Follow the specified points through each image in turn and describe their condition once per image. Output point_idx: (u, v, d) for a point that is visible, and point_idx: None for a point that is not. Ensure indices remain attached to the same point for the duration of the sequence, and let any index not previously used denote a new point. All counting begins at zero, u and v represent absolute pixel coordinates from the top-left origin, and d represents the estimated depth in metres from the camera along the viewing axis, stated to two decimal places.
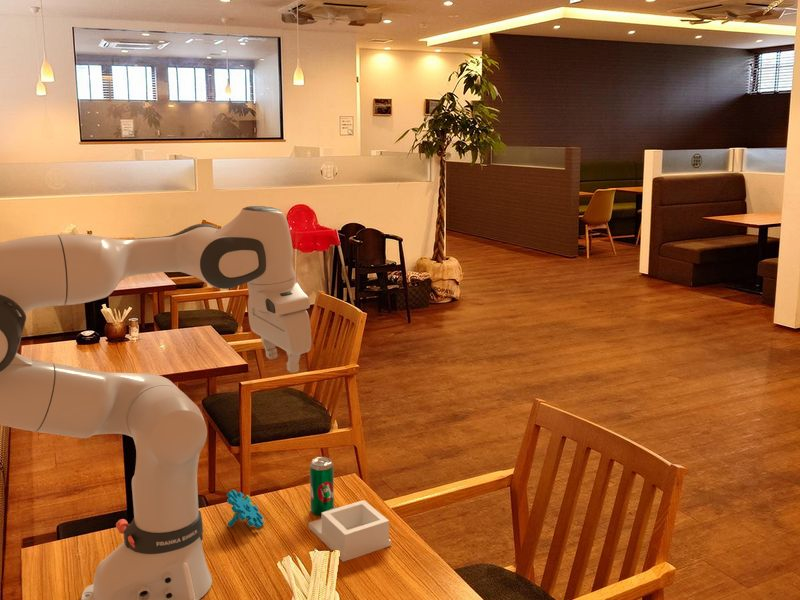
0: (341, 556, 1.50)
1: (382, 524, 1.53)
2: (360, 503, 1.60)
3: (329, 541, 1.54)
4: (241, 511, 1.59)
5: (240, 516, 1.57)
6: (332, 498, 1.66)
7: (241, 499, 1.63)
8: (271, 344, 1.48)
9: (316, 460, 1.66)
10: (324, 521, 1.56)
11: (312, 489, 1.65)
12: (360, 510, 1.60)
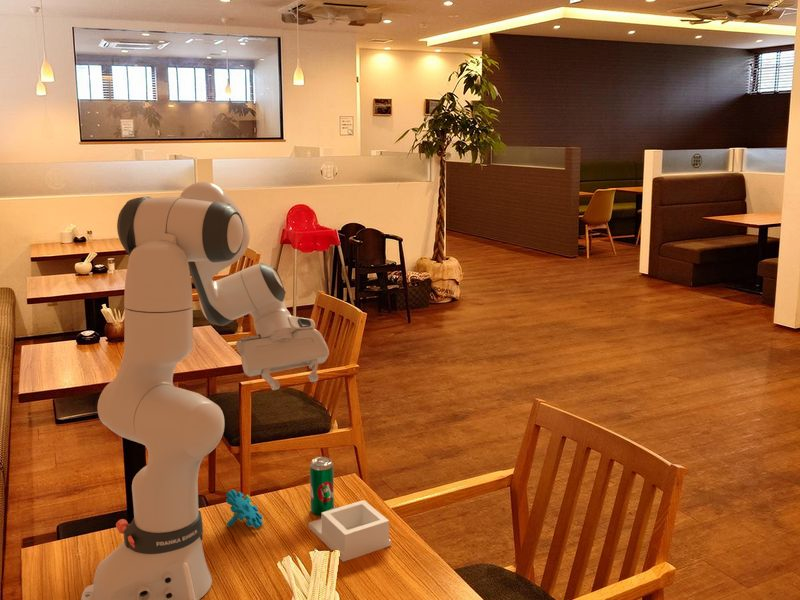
0: (341, 556, 1.50)
1: (382, 524, 1.53)
2: (360, 503, 1.60)
3: (329, 541, 1.54)
4: (240, 511, 1.59)
5: (239, 516, 1.57)
6: (332, 498, 1.66)
7: (240, 499, 1.63)
8: None
9: (316, 460, 1.66)
10: (324, 521, 1.56)
11: (312, 489, 1.65)
12: (360, 510, 1.60)
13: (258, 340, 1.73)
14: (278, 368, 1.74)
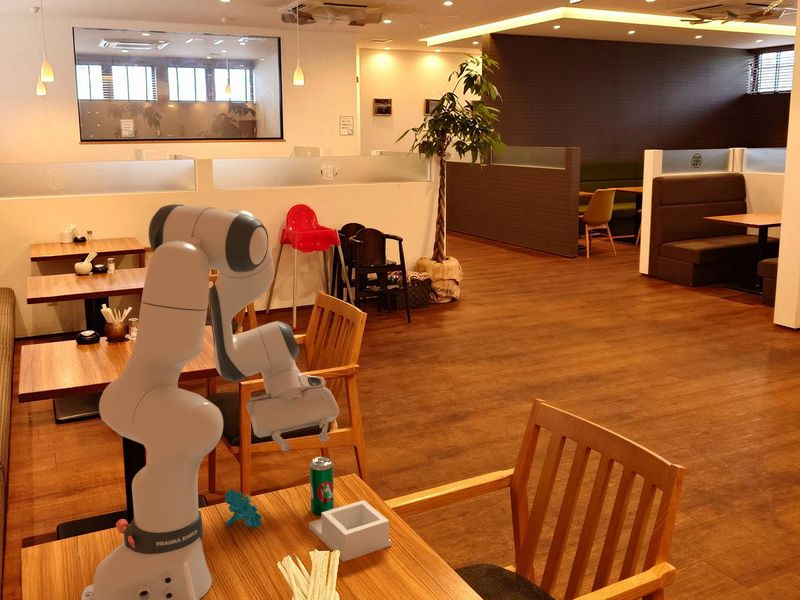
0: (341, 556, 1.50)
1: (382, 524, 1.53)
2: (360, 503, 1.60)
3: (329, 541, 1.54)
4: (238, 511, 1.59)
5: (237, 516, 1.57)
6: (332, 498, 1.66)
7: (240, 499, 1.63)
8: None
9: (316, 460, 1.66)
10: (324, 521, 1.56)
11: (312, 489, 1.65)
12: (360, 510, 1.60)
13: (268, 400, 1.71)
14: (288, 428, 1.73)
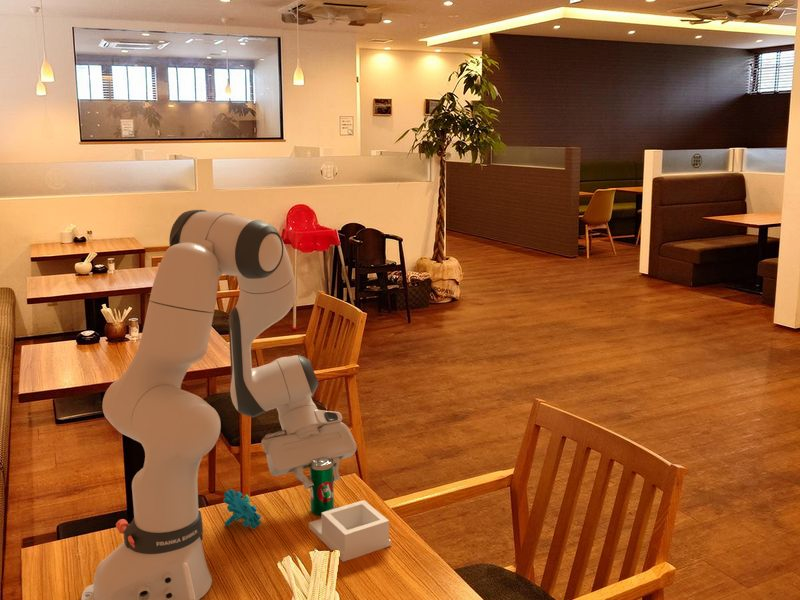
0: (341, 556, 1.50)
1: (382, 524, 1.53)
2: (360, 503, 1.60)
3: (329, 541, 1.54)
4: (237, 511, 1.59)
5: (235, 516, 1.57)
6: (332, 498, 1.66)
7: (239, 499, 1.63)
8: None
9: (316, 460, 1.66)
10: (324, 521, 1.56)
11: (312, 489, 1.65)
12: (360, 510, 1.60)
13: (284, 437, 1.66)
14: (304, 466, 1.68)
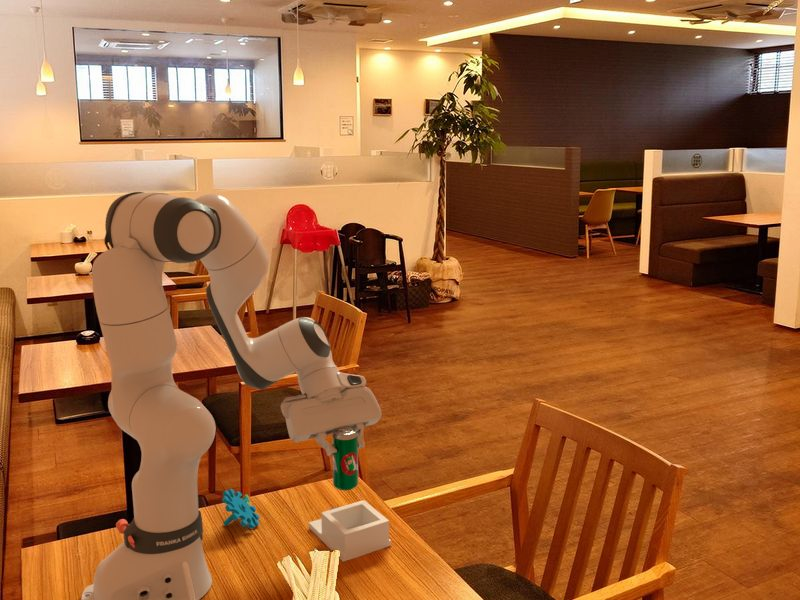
0: (341, 556, 1.50)
1: (382, 524, 1.53)
2: (360, 503, 1.60)
3: (329, 541, 1.54)
4: (235, 511, 1.59)
5: (233, 516, 1.57)
6: (356, 471, 1.55)
7: (238, 499, 1.63)
8: None
9: (339, 430, 1.54)
10: (324, 521, 1.56)
11: (335, 461, 1.53)
12: (360, 510, 1.60)
13: (305, 401, 1.54)
14: (326, 432, 1.56)
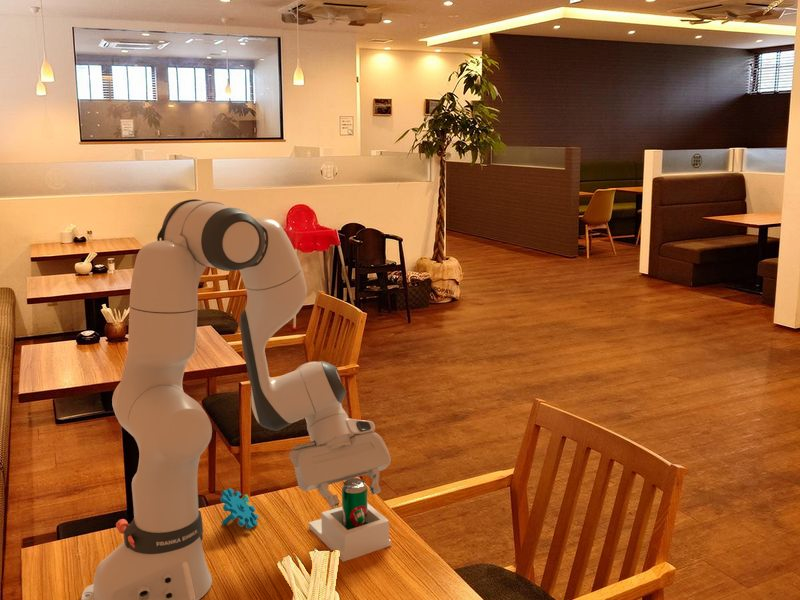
0: (341, 556, 1.50)
1: (382, 524, 1.53)
2: None
3: (329, 541, 1.54)
4: (233, 510, 1.59)
5: (230, 515, 1.57)
6: (366, 523, 1.54)
7: (236, 498, 1.63)
8: None
9: (348, 482, 1.54)
10: (324, 521, 1.56)
11: (344, 513, 1.53)
12: None
13: (314, 449, 1.54)
14: (336, 479, 1.55)
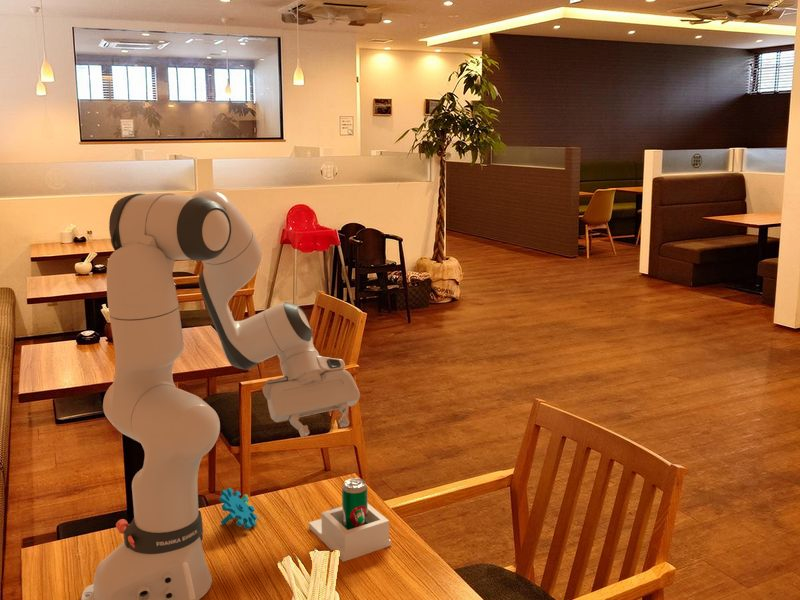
0: (341, 556, 1.50)
1: (382, 524, 1.53)
2: None
3: (329, 541, 1.54)
4: (231, 510, 1.59)
5: (229, 515, 1.57)
6: (366, 523, 1.54)
7: (236, 498, 1.63)
8: None
9: (349, 482, 1.54)
10: (324, 521, 1.56)
11: (344, 513, 1.53)
12: None
13: (286, 383, 1.62)
14: (306, 412, 1.64)
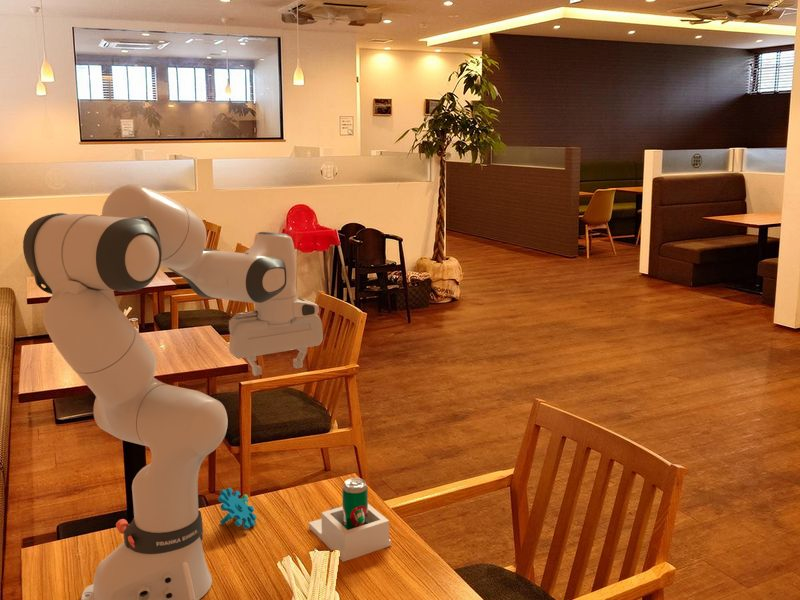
0: (341, 556, 1.50)
1: (382, 524, 1.53)
2: None
3: (329, 541, 1.54)
4: (230, 510, 1.59)
5: (227, 515, 1.57)
6: (366, 523, 1.54)
7: (235, 498, 1.63)
8: None
9: (349, 482, 1.54)
10: (324, 521, 1.56)
11: (345, 513, 1.53)
12: None
13: (254, 324, 1.57)
14: None
